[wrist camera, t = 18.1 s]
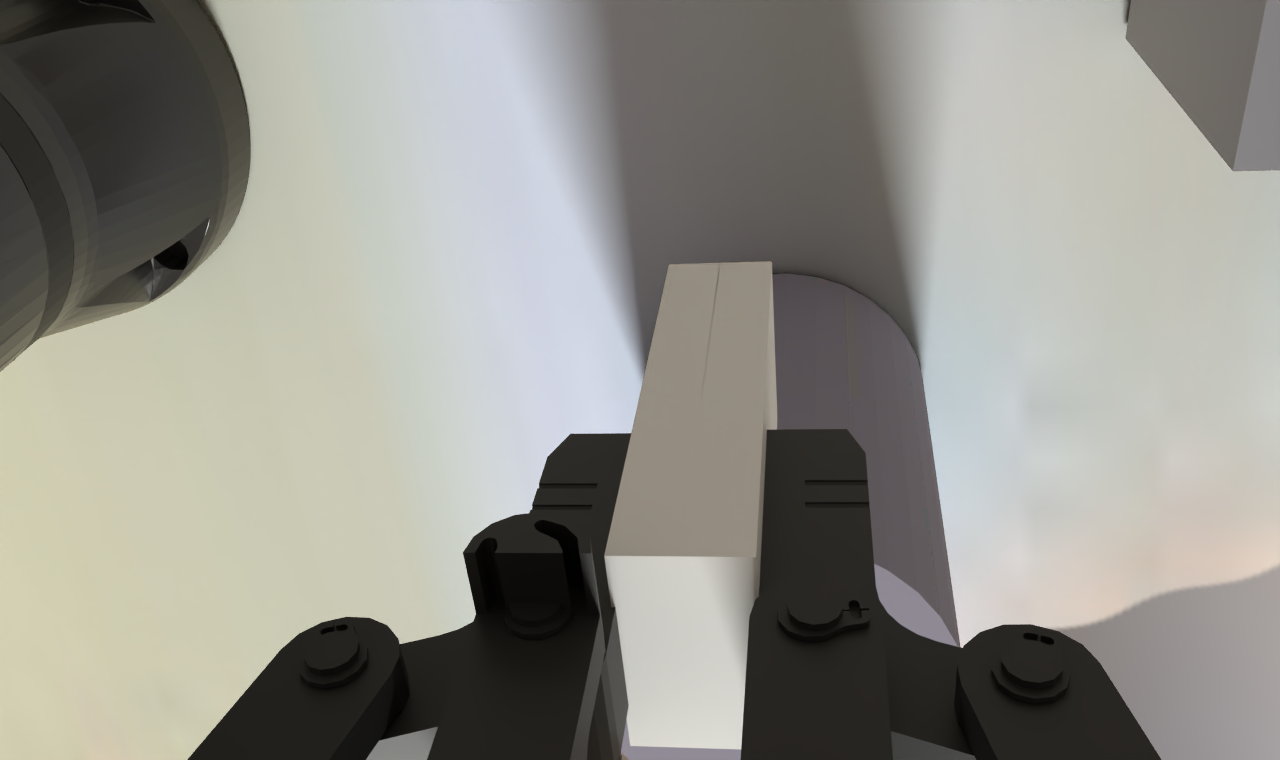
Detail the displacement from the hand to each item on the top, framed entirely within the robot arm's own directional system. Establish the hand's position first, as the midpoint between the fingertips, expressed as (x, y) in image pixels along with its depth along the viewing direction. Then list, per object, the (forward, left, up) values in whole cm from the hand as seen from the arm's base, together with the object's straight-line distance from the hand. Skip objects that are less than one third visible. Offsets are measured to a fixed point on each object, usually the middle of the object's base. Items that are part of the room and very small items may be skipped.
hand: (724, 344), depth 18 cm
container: (0, -15, -23) cm, 27 cm away
